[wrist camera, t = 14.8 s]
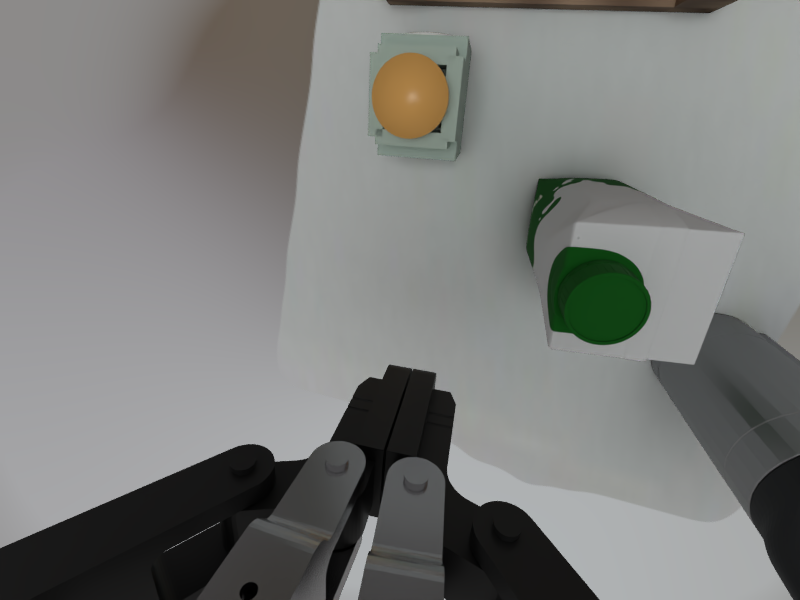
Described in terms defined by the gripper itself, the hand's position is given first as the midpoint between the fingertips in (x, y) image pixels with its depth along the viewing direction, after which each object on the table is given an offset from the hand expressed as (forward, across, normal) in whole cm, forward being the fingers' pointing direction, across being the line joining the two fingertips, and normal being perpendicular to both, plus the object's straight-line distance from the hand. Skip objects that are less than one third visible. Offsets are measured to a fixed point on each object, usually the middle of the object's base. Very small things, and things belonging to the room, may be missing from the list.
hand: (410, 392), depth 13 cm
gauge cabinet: (+29, +4, -9) cm, 31 cm away
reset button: (+21, +4, -9) cm, 23 cm away
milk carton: (+30, -10, 0) cm, 31 cm away
